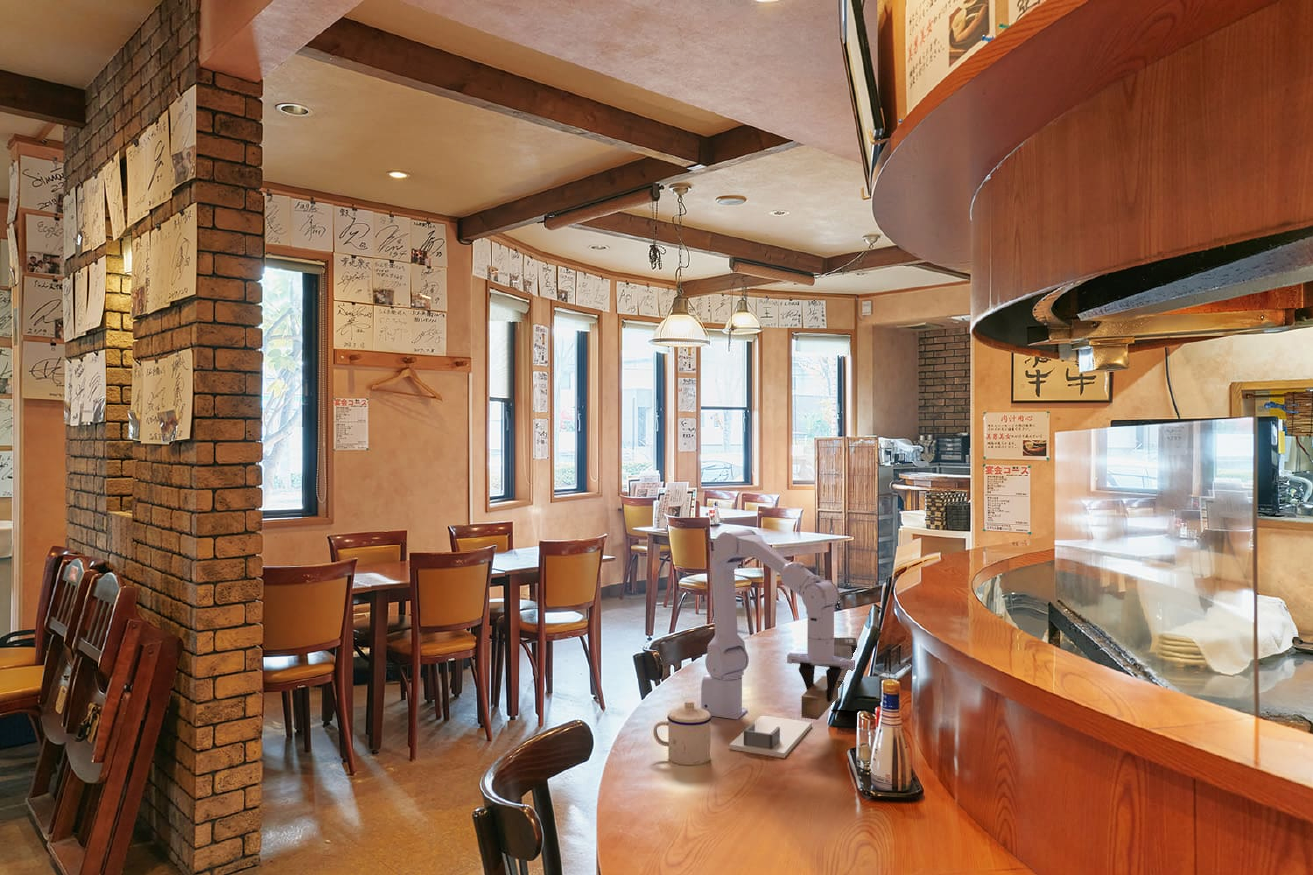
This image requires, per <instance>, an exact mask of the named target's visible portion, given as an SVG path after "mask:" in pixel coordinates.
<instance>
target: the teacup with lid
mask: <svg viewBox="0 0 1313 875" xmlns="http://www.w3.org/2000/svg"><path fill="white" fill-rule="evenodd" d="M712 717H713V716H711V714H710V713H709V712H708V711H706V710H704V709H701V707H699V706H697V705H695V702H694V701H693V700H685V702H684V705H681V706H679V707H677V708H674V709H671V710H670V711H669V712H668V714H667V717H666V718H667V720H668V721H667V720H662V721H658V722H657V723H656V724H655V725H654V727H653V732H652V734H653V737H654V739H655V741H656V743H658V744H659V745H660V746H662V747H667V748H668V749H667V752H668V753H667V754H668V757H667V758H668V759H669V760H670V761H671V762H672V763H674V764H677V765H683V766H698V765H702V764H706V763H707V762H708V761H710V758H711V721H712V719H713V718H712ZM661 726H665V727H666V726H667V728H668V729H667V731H668V735H667V736H668V740H667V741H664V740H662V739H661V738H660V736H659V734H658V728H659V727H661Z"/></svg>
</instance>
